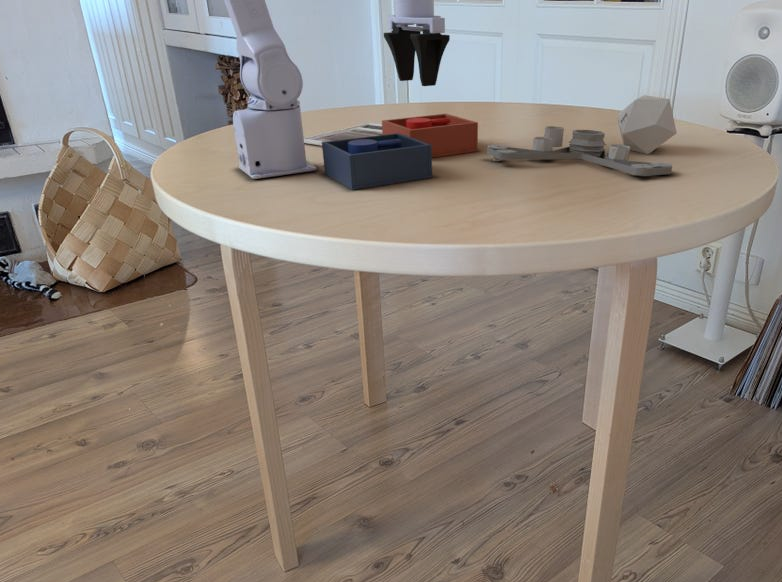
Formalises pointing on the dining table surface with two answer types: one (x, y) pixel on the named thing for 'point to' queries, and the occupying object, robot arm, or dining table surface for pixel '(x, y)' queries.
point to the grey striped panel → (346, 133)
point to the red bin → (439, 134)
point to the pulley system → (580, 152)
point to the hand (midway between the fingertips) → (417, 83)
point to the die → (646, 123)
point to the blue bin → (378, 162)
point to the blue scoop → (370, 145)
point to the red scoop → (425, 122)
